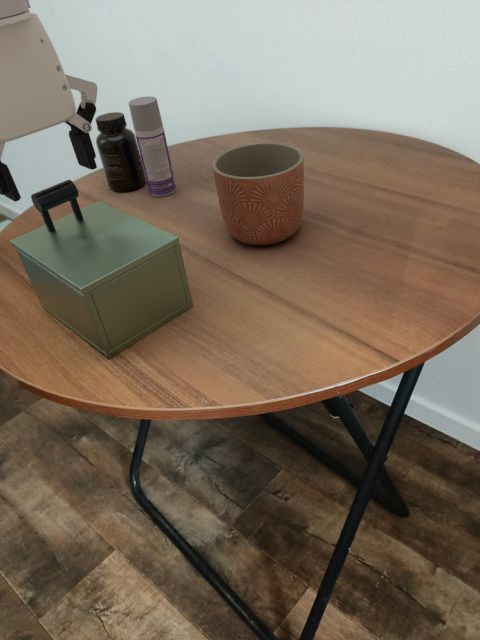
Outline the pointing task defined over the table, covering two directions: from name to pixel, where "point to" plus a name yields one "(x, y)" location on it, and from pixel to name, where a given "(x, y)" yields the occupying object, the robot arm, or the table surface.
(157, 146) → the container
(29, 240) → the green box lid
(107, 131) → the supplement bottle
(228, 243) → the table surface
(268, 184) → the planter
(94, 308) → the box base
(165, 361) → the table surface
